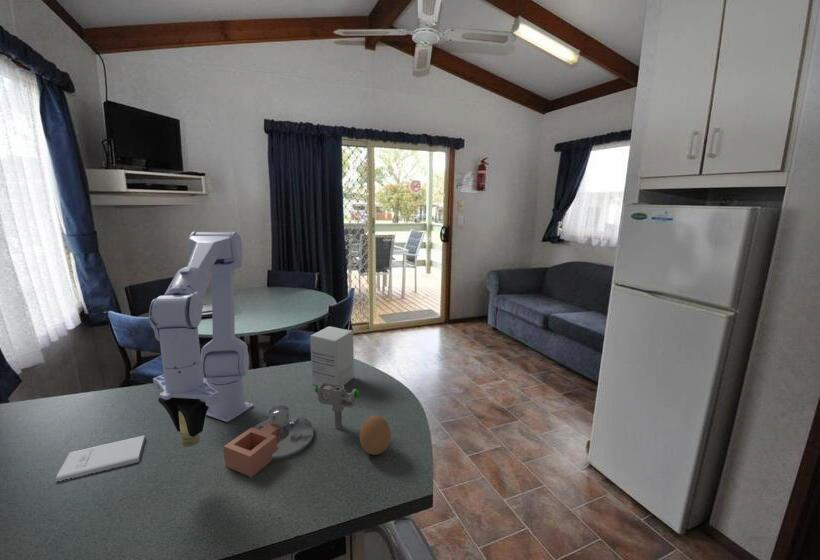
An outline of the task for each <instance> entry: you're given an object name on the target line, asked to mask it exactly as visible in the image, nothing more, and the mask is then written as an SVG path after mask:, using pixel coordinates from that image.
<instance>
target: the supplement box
mask: <svg viewBox="0 0 820 560" xmlns="http://www.w3.org/2000/svg"><path fill="white" fill-rule="evenodd" d="M309 338H310V360H311V361H310V362H311V363H310V364H311V365H310V366H311V367H310V368H311V385H314V386H317V385H319V386H320V385H321V384H322V383H329V384H337V385H343V386H344V387H345V385H347V384H348V383H349V382H351V381H352V380H353V379H354V377H355V366H354V363H355V362H354V361H355V360H354V359H355V358H354V357H355V356H354V354H355V353H354V330H353V329H352V330H351V329H347V328H346V329H345V328H339V327H335V326H326V327H324V328H323V329H320V330H319V331H317V332H315V333H313V334H311V335H309Z"/></svg>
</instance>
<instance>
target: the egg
mask: <svg viewBox="0 0 820 560" xmlns="http://www.w3.org/2000/svg"><path fill="white" fill-rule="evenodd" d="M359 431H360V432H359V443H360V446H361V447H362V449H363V450H364V451H365V452H366V453H367V454H370V455H373V456H377V455H380V454H382V453H384V452H385V451H386V450H387V448H388V447H389V446H390V443H391V436H392V433H391V429H390V426H389V423H388V422H387V420H386V419H385V418H384V417H383V416H381V415H376V414H375V415H371V416H369V417H368V418H366V419H365V421H364V422H363V423H362V425H361V428H360V430H359Z"/></svg>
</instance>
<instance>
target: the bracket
mask: <svg viewBox="0 0 820 560" xmlns="http://www.w3.org/2000/svg"><path fill="white" fill-rule="evenodd" d="M280 439H281V434H280V427H274V426H272V425H270V423H269V424H267V425H266V426H265V427H263V428H262V429H260V430H258V429H255V428H253V427H252V426H251V427H250V428H248V429H246V430H245V431H244V432H242V433H240V434H239V435H237V436H236V438H234V439H232V440H231V441H229V442H228V443H226V444H225V445H223V451H224V462H225V467H226V468H228V469H230V470H233V471H236V472H238V473H240V474H243V475H246V476H247V477H251V478H253V477H254V476H256V474H258V473H259V472H260V471H261V470H262V469H263V468H265V467H266V466H267V465H268V464H269V463H271V461H273V460H272V454H273V453H275V452H276V451H277V442H278V441H279V440H280ZM252 448H253V449H252Z"/></svg>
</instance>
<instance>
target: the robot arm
mask: <svg viewBox="0 0 820 560" xmlns="http://www.w3.org/2000/svg"><path fill="white" fill-rule="evenodd" d="M190 233H191V234H190V235H189V237H188V239H187V248H188V252H189V255H190V257H189V259H188V262H187V266H185V267H182V268H180V269H179V270H177V272H176V273H175V275H174V277H173V279H172V280H171V282H170V284H169V285H168V287H167V289H166V291H165V293H164V295H159V296H158V297H156V298H153V299H152V301H151V303H150V305H149V310H148V321H149V325H150V326H151V329H152V330H153V332H154V338H155V339H156V340H157V341H159V344H160V345H159V347H160V354H161V362H162V370H163V371H162V372H163V374H160V375H158V376H156V377H153V378H152V382H153V388H154V389H156V390H160V389H161V391H162V392H160V393H159V398H158V401H157V402H158V403H159V404H160V405H162V406H163V408H164V409H165V410H166V412H167V414H168V415H169V417H170V418H171V421H172V422H173V425H174V427H175V429H176V431H177V432H179V433H181V432H180V424H179V416H178V409H179V410H180V411H181V413H182V414H183V416H184V418H185V421H186V425H187V429H188V433H189V435H190V436H191V437H194V436H196V435H197V434H199V435H200V434H201V433H202V432H203V430H204V426H205V421H206V416H208V417H211V418H213V419H217V420H220V421H222V422H225V423H229V422H230V421H232V420H233V419H235V418H237V417H239V415H242V414H244V413H245V412H247V411H248V410H249V409H251V408H252V407H254V404H253V403H251V402H247V401H245V388H244V387H245V386H244V376H246V375H247V373H248V372H249V368H250V355H249V351H248V349H249V348H248V345H247V342H244V341H243V340H242V339H239V338H238V337H237V336H236V333H235V331H236V329H235V328H236V327H235V326H236V325H235V273H236V269H239V268H241V267H242V262H243V243H242V239H241V235H240V234H239V233H238V232H237V231H195V230H194V231H192V232H190ZM209 272H210V275H211V309H212V310H211V311H212V312H211V313H212V316H211V317H212V319H211V320H212V339H211V340H210V341H208V342H207V343H205V345H203V347H202V348H200V337H199V328H198V327H199V325H200V323H201V322H202V316H203V308H204V301H203V299H204V297H205V295H206V293H207V289H208V288H209V286H210V278H209V275H208V273H209Z"/></svg>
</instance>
